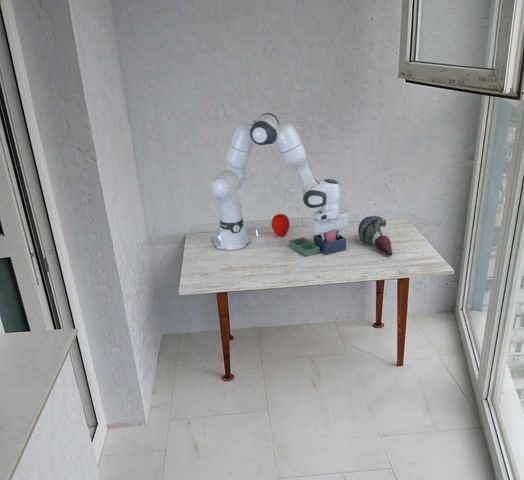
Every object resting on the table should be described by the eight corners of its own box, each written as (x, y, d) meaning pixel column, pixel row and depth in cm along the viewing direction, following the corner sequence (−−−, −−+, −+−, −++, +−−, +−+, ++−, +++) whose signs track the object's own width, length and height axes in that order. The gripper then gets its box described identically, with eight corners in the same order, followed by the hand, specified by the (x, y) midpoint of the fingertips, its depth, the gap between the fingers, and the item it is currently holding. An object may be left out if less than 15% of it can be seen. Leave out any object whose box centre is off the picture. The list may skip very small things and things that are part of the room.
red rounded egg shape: (272, 232, 313) (271, 211, 307) (289, 232, 312) (289, 210, 306) (271, 239, 305) (270, 217, 298) (289, 238, 304) (289, 216, 297)
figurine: (380, 276, 293) (405, 262, 285) (364, 266, 281) (390, 252, 272) (366, 230, 304) (390, 216, 296) (350, 219, 292) (374, 204, 284)
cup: (321, 246, 291) (321, 228, 286) (331, 243, 293) (332, 226, 288) (327, 250, 286) (328, 232, 281) (338, 247, 288) (338, 230, 283)
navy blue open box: (313, 247, 293) (313, 235, 289) (333, 242, 297) (333, 231, 293) (325, 254, 283) (325, 243, 280) (345, 250, 287) (346, 238, 284)
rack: (289, 245, 295) (289, 240, 294) (303, 242, 298) (303, 237, 297) (305, 256, 283) (305, 250, 281) (319, 252, 286) (319, 247, 284)
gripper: (344, 207, 286) (343, 233, 293) (309, 214, 279) (309, 240, 286) (351, 210, 281) (350, 236, 288) (316, 218, 274) (316, 244, 281)
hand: (330, 238), depth 287 cm, fingers closed on cup, 6 cm apart
